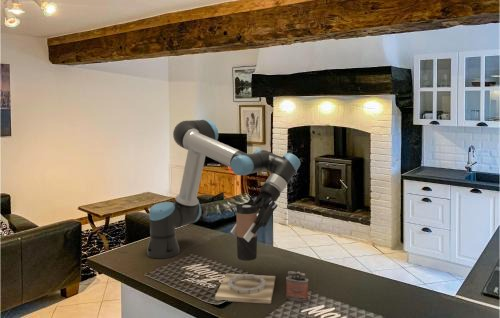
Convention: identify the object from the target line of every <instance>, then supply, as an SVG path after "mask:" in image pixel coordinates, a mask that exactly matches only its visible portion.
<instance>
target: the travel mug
mask: <svg viewBox="0 0 500 318" xmlns="http://www.w3.org/2000/svg"><path fill="white" fill-rule="evenodd" d="M257 212H258V210H257V205H256V204H254V203H247V202H243V203H242V204H240V203H237V204H236V222H237V235H236V250H237V252H236V254H237V255H236V256H237V259H238V260H240V261H246V262H248V261H254V260H255V259H257V253H258V231H257V232H256V233H255V234H254V235H253V237H252V238H251V239H250V241H249V242H247V241H246V240H245V239H244V238H243V237H244V235H245V234H246V233H247V231H248V230H249V228H250V227H251V225H252V224H253V223H255V222H254V221H256V219H257V216H258V213H257ZM255 224H256V223H255Z"/></svg>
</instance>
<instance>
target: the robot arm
mask: <svg viewBox="0 0 500 318" xmlns="http://www.w3.org/2000/svg"><path fill="white" fill-rule="evenodd" d="M172 135H173V136H172V137H173V139H174V142H175V143H176V145H178V146H179V147H181V148H183V149H185V150H186V151H187V154H186V159H185V165H184V169H183V174H182V179H181V183H180V184H181V185H180V189H179V194H177V195H176V196H175V197H174V202H172V201H163V202H159V203H155V204H154V205H152V206H151V207H150V208H149V215H148V219H149V234H150V235H149V236H150V238H149V242H148V245H147V248H146V254H147V255H146V256H148V258H152V259H168V258H173V257H176V256H178V255H179V254H180V251H181V250H180V245H179V242H178V239H177V236H176V229H179V228H181V227H185V226H187V225H189V226H190V225H192V224H194V223H196V222H198V220H199V219H201V216H202V208H201V204H200V201H199V199H198V198H197V197H198V192H199V187H200V184H201V180H202V179H201V178H202V174H203V170H204V166H205V161H206V157H207V158H210V159H212V160H214V161H216V162H218V163H220V164H223V165H225V166H226V167H229V168H231V170H232V171H233V173H234V174H235V175H237V176H247V175H250V174H255V173H260V172H263V171H265V172H268V173H269V174H270V173H271V174H270V175H269V176H268V177H267V179H266V181H265V182H264V183H263V185H262V186H261V187H260V189H259V192H260V193H259V194H258V195H257V196H254V195H251V196H250V198H249V200H248V201H247V202H246V203H254V204H256V205H257V211H258V213H257V219H256V221H254V222H255V223H256V224H255V223H253V224H252V225H251V227H250V228H249V230H248V231H247V233H246V234H245V235H244V237H243V238H244V239H245V240H246V241H247V242H249V241H250V239H251V238H252V237H253V235H254V234H255V233H256V232H257V233H258V230H259V229H260V228H261V227H262V228H265V227H266V226H267V224H268V222H269V221H270V220H271V217H272V215H273V213H274V211H275V210H276V209H277V207H278V206H279V205H278V204H277V203H276V202H277V200H278V199H279V197H281V193H283V192H284V190H285V188H286V187H287V185H288V184H289V182H290V181H291V179H292V178H293V176H294V175H295V174H296V173H297V172H298V170H299V168H300V166H301V161H300V159H299V158H298V156H296V155H295V154H293V153H292V152H286V153H285V154H284V155H277V154H275V153H272V152H270V151H268V150H266V149H262V148H257V149H255V151H253V152H252V153H246V152H244V151H241V150H239V149H238V148H234V147H232V146H230V145H228V144H225V143H223V142H220V141H219V140H218V139H219V130H218V127H217V126H216V124H215V123H214V122H213V121H211V120H210V119H209V120H208V119H197V120H196V119H193V120H191V119H190V120H183V121H180V122H179V123H177V124H176V125H175V127H174V128H173V133H172ZM230 234H231V235H233V236H234V237H237V221H236V222H235V225H234V226H233V228H232V229H231V230H230Z"/></svg>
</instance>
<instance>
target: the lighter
mask: <svg viewBox="0 0 500 318" xmlns="http://www.w3.org/2000/svg"><path fill="white" fill-rule="evenodd" d="M287 275H288V276H286V277H285V281H286V295H285V298H286V300H289V301H296V302H304V303H306V302H308V301H309V289H308V288H309V279H308V278H306V273H303V272H300V271H297V272H296V271H293V270H291V271H290V270H289V271H288V272H287Z"/></svg>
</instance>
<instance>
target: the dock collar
mask: <svg viewBox="0 0 500 318" xmlns="http://www.w3.org/2000/svg"><path fill="white" fill-rule="evenodd" d="M241 274H242V273H241ZM257 275H258V274H253V273H249V274H247V273H243V274H242V275H236V276H234V277H232V278H230V279H229V281H228V288H229V289H230V290H231V291H232V292H235V293H238V294H254V293H258V292H260V291H262V290H264V289H265V286H266V281H265V280H264V279H263V278H262V277H260V276H257ZM244 279H248V280H255V281H258V282H259V283H260V284H261V285H259V286H257V287H254V288H249V289H248V288H239V287H236V286H234V285H233V283H234V282H236V281H238V280H244Z"/></svg>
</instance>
